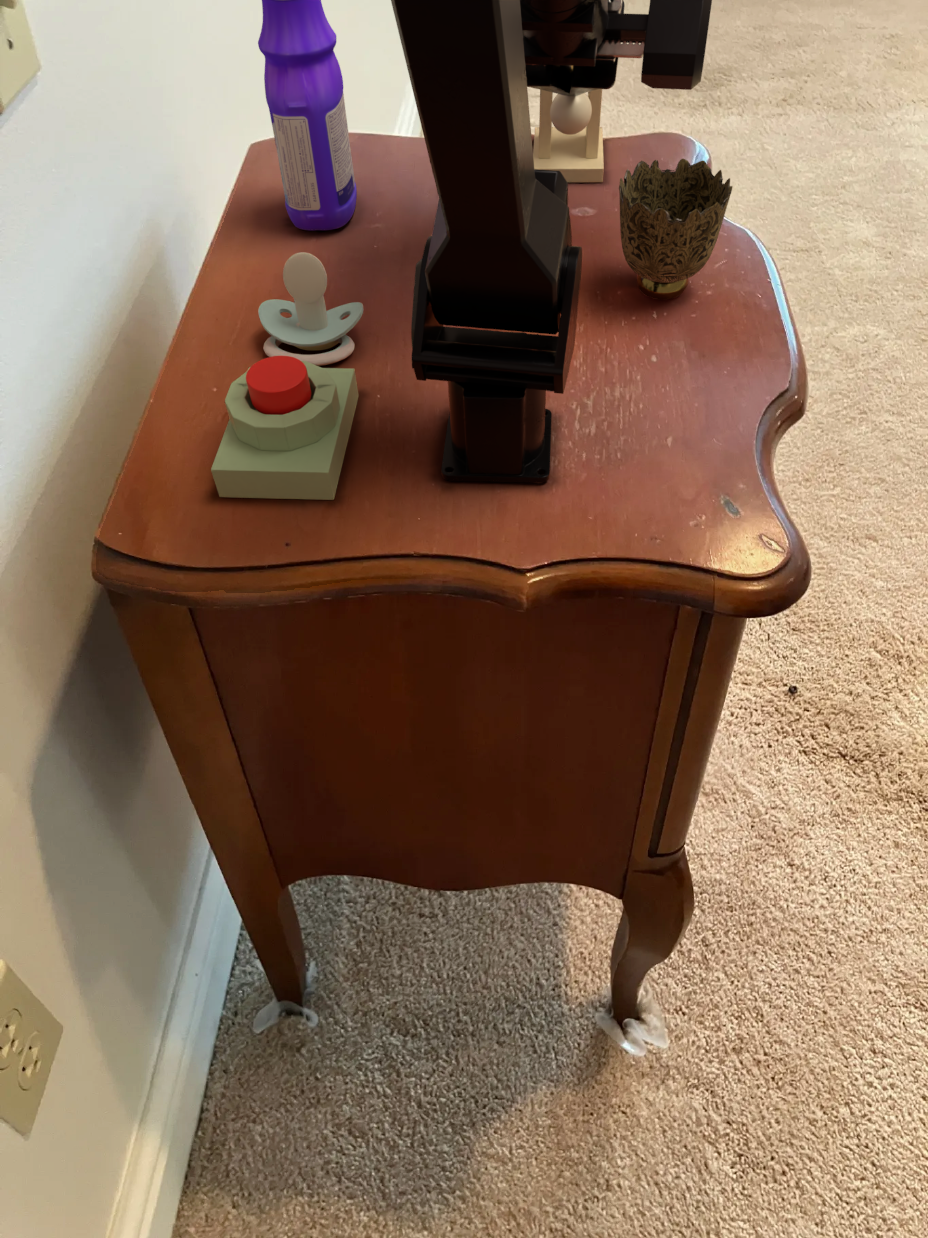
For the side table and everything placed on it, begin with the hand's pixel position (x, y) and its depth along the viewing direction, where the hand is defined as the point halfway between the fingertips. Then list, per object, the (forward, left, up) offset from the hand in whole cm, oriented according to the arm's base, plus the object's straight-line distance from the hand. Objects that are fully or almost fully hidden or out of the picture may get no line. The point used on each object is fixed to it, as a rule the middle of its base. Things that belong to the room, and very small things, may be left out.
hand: (572, 88), depth 71 cm
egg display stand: (+7, 0, -9) cm, 11 cm away
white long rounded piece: (+4, 0, -3) cm, 5 cm away
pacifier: (-21, +18, -9) cm, 29 cm away
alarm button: (-31, +17, -5) cm, 36 cm away
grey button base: (-31, +17, -9) cm, 37 cm away
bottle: (-2, +20, -9) cm, 22 cm away
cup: (-13, -7, -9) cm, 17 cm away
